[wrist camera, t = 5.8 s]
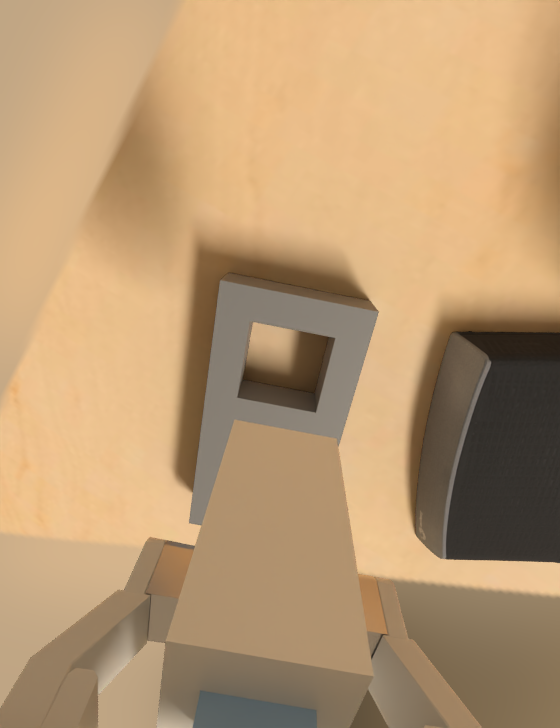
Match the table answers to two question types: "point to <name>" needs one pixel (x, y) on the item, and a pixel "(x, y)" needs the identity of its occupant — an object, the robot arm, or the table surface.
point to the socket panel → (267, 402)
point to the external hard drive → (493, 450)
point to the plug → (270, 595)
